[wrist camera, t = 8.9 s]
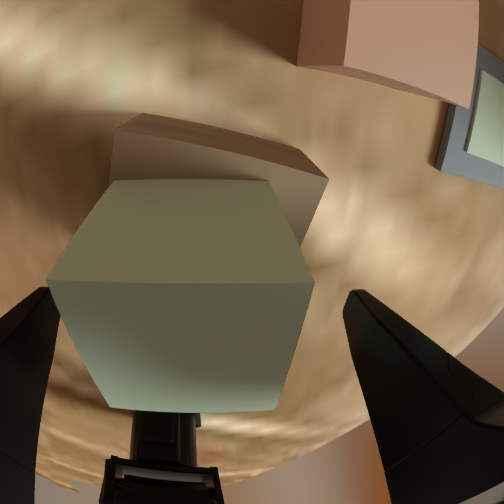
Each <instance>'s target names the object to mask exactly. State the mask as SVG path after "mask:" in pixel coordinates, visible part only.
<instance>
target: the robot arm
mask: <svg viewBox="0 0 504 504" xmlns="http://www.w3.org/2000/svg"><path fill="white" fill-rule="evenodd" d="M60 316H61V315H60V313H59V311H58V308H57V306H56V304H55V301H54V299H53V296H52V294H51V291H50V289H49V287H39V288H38V289H37V290H35V291H34V292H33V293H31V294H30V295H29V296H27V297H26V298H25V299H24V300H22V301H21V302H20V303H18V304H17V305H16V306H15V307H13V308H12V309H11V310H10V311H8V312H7V313H6V314H5V315H4V316H2V317H1V318H0V504H34V490H35V467H36V455H37V445H38V436H39V428H40V422H41V415H42V409H43V403H44V398H45V393H46V388H47V383H48V378H49V374H50V369H51V365H52V361H53V356H54V350H55V344H56V338H57V332H58V326H59V321H60ZM343 319H344V324H345V328H346V333H347V337H348V342H349V347H350V352H351V356H352V360H353V363H354V367H355V370H356V373H357V376H358V379H359V383H360V386H361V389H362V392H363V396H364V399H365V402H366V406H367V409H368V413H369V416H370V420H371V423H372V427H373V430H374V434H375V438H376V441H377V445H378V449H379V453H380V456H381V460H382V464H383V468H384V471H385V472H384V473H385V477H386V481H387V486H388V490H389V494H390V498H391V503H392V504H504V392H503V391H501V390H500V389H498V388H497V387H495V386H494V385H492V384H491V383H489V382H488V381H486V380H485V379H483V378H482V377H480V376H479V375H478V374H476V373H474V372H473V371H472V370H470V369H469V368H467V367H466V366H465V365H463V364H462V363H461V362H460V361H458V360H457V359H456V358H454V357H453V356H452V355H451V354H449V353H448V352H447V353H446V351H445V350H444V349H443V348H441V347H440V346H439V345H438V344H436V343H435V342H434V341H432V340H431V339H430V338H429V337H427V336H426V335H425V334H423V333H422V332H421V331H419V330H418V329H417V328H415V327H414V326H413V325H411V324H410V323H409V322H407V321H406V320H405V319H403V318H402V317H401V316H399V315H398V314H397V313H395V312H394V311H393V310H391V309H390V308H389V307H387V306H386V305H385V304H383V303H382V302H380V301H379V300H378V299H376V298H375V297H374V296H372V295H371V294H370V293H368V292H367V291H365V290H363V289H355V290H351V291H350V293H349V295H348V298H347V300H346V303H345V306H344V308H343ZM129 410H130V409H129ZM130 411H131V413H132V415H133V422H132V433H131V445H130V460H129V459H123V458H118V456H113V455H111V459H106V462H105V473H104V479H103V484H102V488H101V493H100V498H99V504H224V499H223V495H222V490H221V484H220V479H219V474H218V468H217V467H210V468H204V467H197V453H196V427H201V418H200V413H180V412H157V411H142V410H130ZM122 475H124V478H122Z"/></svg>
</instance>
